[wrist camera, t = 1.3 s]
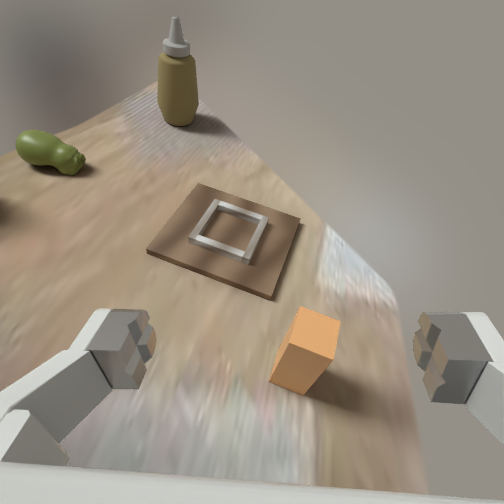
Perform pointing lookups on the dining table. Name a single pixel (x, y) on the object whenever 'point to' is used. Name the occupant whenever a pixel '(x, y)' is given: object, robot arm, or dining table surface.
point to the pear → (49, 151)
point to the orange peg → (305, 351)
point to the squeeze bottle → (177, 79)
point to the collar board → (227, 240)
